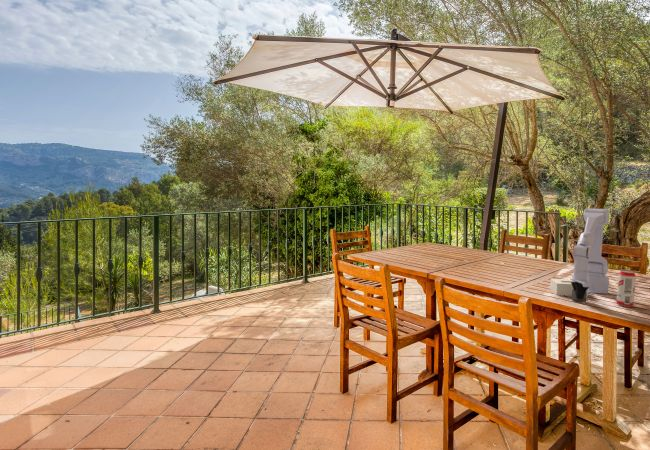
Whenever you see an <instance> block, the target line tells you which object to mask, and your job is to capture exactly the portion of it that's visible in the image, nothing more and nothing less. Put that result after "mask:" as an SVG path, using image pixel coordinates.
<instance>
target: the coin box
mask: <svg viewBox="0 0 650 450" xmlns="http://www.w3.org/2000/svg"><path fill="white" fill-rule="evenodd" d="M571 282H574V281H572V280H570V279H565V278H564V279H562V278H550V286H549V287H550V288H549V291H551V292H552V293H553V294H555V295H556V296H564V295H565V296H567V297H572V290H574V289H573V286H572V284H571ZM586 292H587V297H586V298H588V297H589V293H588V289H587V291H586ZM565 296H564V297H565Z"/></svg>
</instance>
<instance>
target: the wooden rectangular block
mask: <svg viewBox="0 0 650 450" xmlns="http://www.w3.org/2000/svg"><path fill="white" fill-rule="evenodd" d="M587 298H588V297H587V292H585V295H584V298H583V299H577V291H576V290H572V296H571V301H572V302H576V303H577V302H579V303H580V302H581V303H586V302H587Z"/></svg>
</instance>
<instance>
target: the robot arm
mask: <svg viewBox="0 0 650 450" xmlns="http://www.w3.org/2000/svg"><path fill="white" fill-rule="evenodd" d="M582 215H583V220H584V222H585V226H584V232H581V233H580V235H579V238H578V240H577V243H576V245H573V246H574V247H573V249H572V257H573V273H572V274H573V275H572V276H571V277H570V279H569V280H572V281H574V282H571V284H572V286H573V289H574V290H576V291H577V299H583V298H584V295H585V292H586V291H587V289H588V294H607V295H609V294H610V292H609V290H610V289H609V287H610V278H609V276H608V275H607V274H608V272H609V271H608V270H609V266H608V260H607V259H606V258H605V257H603V256H602V251H603V239H604V238H603V237H604V227H605V225H609V221H610V211H609V209H608V208H588V207H586V208H585V209H584V210H583V214H582Z"/></svg>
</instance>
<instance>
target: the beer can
mask: <svg viewBox="0 0 650 450" xmlns="http://www.w3.org/2000/svg"><path fill="white" fill-rule="evenodd" d="M636 280H637V276H636V273H635V271H633V270H627V269H626V270H625V269H621V270H620V272H619V273H618V279H617V291H616V300H615V301H616V304H617V305H618V306H620V307H625V308H632V307H634V306H635V305H634V303H635V294H636V292H635V291H636Z"/></svg>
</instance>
